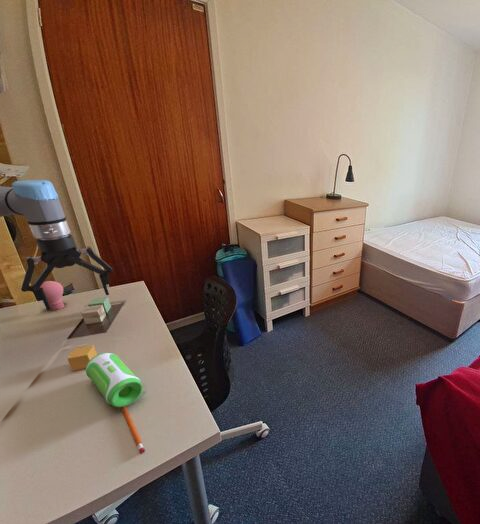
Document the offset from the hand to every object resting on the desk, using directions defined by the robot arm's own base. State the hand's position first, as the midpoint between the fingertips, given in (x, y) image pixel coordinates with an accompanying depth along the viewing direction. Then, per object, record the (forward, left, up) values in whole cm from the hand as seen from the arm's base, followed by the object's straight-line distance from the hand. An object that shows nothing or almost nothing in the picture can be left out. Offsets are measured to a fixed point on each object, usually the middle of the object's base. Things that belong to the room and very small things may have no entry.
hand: (79, 300), depth 88 cm
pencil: (+20, -42, -14) cm, 49 cm away
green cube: (-2, +15, -12) cm, 20 cm away
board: (-2, +9, -14) cm, 16 cm away
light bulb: (-18, +23, -14) cm, 32 cm away
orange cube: (+3, -15, -14) cm, 20 cm away
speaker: (+14, -29, -14) cm, 35 cm away
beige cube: (-2, +9, -12) cm, 15 cm away
